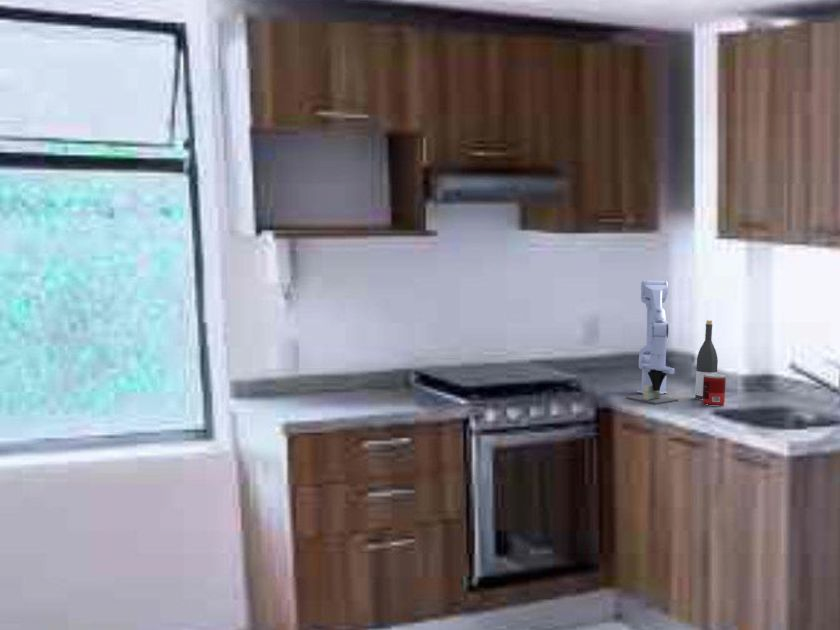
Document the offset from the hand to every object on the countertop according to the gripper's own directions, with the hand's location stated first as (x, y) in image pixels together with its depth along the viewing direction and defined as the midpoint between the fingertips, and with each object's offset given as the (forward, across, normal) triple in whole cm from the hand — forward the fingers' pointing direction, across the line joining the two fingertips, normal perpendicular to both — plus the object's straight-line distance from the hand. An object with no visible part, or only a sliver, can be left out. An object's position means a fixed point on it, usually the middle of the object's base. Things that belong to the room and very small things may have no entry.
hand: (656, 390), depth 379 cm
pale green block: (+3, -2, 0) cm, 4 cm away
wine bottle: (+4, +6, +21) cm, 22 cm away
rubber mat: (+4, -3, +1) cm, 5 cm away
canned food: (+4, +15, +14) cm, 21 cm away
